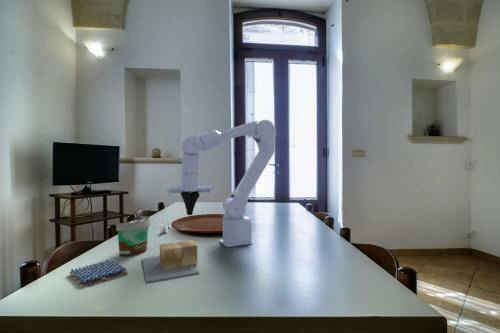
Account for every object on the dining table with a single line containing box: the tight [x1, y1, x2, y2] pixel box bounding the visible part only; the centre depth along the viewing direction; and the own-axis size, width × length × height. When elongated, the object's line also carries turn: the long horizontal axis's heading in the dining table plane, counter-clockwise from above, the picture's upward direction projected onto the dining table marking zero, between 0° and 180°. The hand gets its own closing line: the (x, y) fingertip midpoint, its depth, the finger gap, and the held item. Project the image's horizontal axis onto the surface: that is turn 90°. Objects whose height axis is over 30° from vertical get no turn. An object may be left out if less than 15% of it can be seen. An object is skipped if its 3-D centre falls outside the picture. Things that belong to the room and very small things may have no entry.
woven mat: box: [68, 259, 129, 288], centre depth 65 cm, size 10×11×2 cm
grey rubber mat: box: [141, 255, 199, 284], centre depth 70 cm, size 12×16×1 cm
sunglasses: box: [148, 216, 172, 234], centre depth 108 cm, size 14×8×5 cm, turn 8°
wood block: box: [159, 240, 198, 270], centre depth 71 cm, size 5×5×9 cm
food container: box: [115, 215, 152, 258], centre depth 82 cm, size 12×6×10 cm, turn 168°
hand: (189, 214), depth 88 cm, fingers closed
